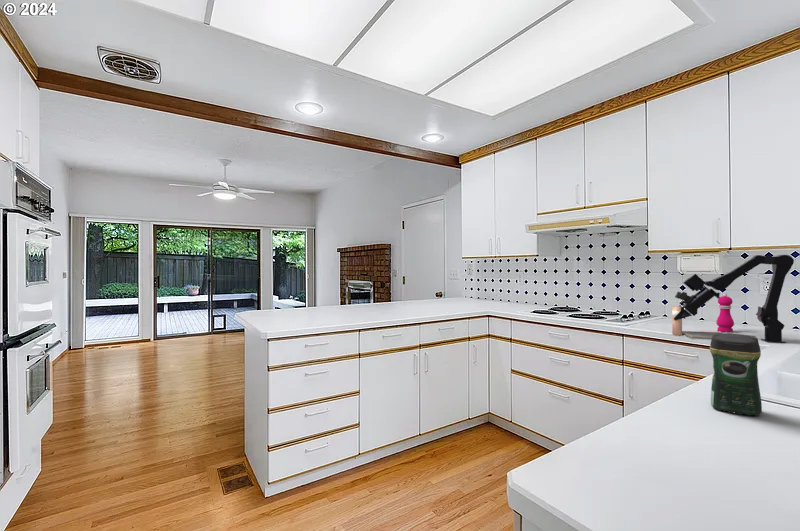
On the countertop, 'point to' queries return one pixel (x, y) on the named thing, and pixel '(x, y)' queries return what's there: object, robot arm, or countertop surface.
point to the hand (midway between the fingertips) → (673, 319)
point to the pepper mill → (725, 314)
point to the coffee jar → (735, 373)
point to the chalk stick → (676, 321)
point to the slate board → (699, 334)
